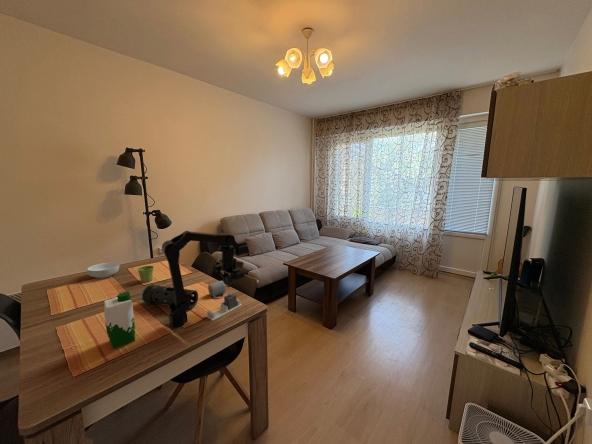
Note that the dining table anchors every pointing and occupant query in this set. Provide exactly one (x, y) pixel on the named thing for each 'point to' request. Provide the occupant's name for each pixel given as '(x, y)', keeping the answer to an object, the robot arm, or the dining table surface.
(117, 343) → the milk carton
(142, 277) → the plant pot
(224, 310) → the white ridged plate
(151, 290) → the muzzle brake
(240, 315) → the dining table surface
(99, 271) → the cereal bowl
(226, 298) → the dark grey knobbed block
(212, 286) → the ceramic mug
